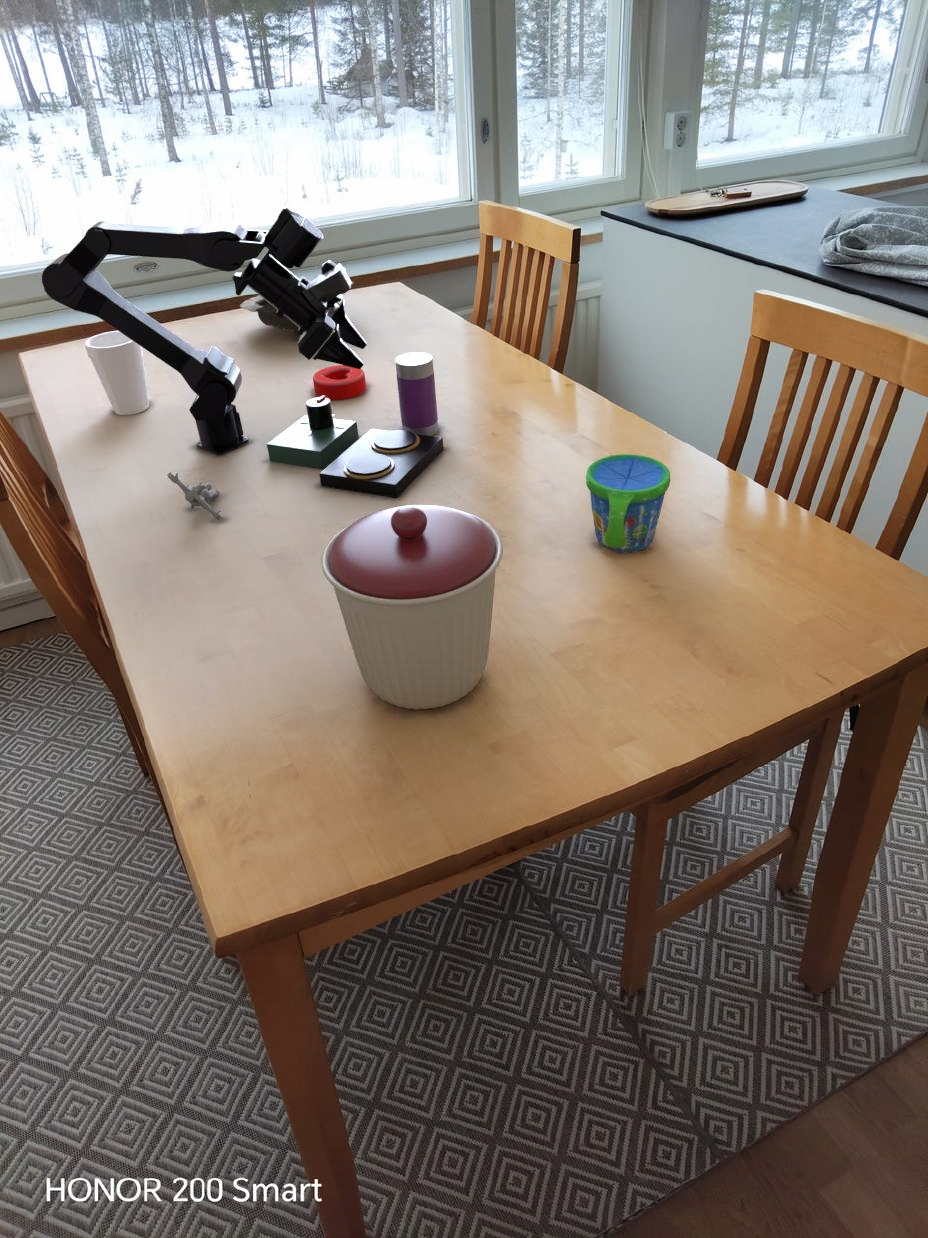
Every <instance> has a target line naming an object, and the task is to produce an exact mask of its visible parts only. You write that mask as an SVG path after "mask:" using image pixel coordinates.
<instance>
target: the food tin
mask: <svg viewBox="0 0 928 1238" xmlns="http://www.w3.org/2000/svg"><path fill="white" fill-rule="evenodd" d="M395 369H396V383H397V391H398V392H397V393H398V403H399V411H400V420H401V421H400V422H401V430H406V431H410V432H412V433H414V434H419V435H427V436H435V435H436V434H438V432H439V421H438V420H439V419H438V418H439V417H438V416H439V415H438V406H437V405H438V404H437V392H436V381H435V370H434V359H433V355H431V354H430V353H427V352H421V351H419V352H418V351H415V352H407V353H403V354H401V355H398V356H397V357H396V358H395Z"/></svg>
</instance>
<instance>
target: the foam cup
mask: <svg viewBox="0 0 928 1238" xmlns="http://www.w3.org/2000/svg"><path fill="white" fill-rule="evenodd" d="M83 344H84V347H85V350H86V352H87V353H86V354H87V357H88V358H89V359H90V361H91V363H92V365H93V367H94V369H95V372H96V374H97V377H98V378H99V380H100V383H101V385H102V388H103V390H104V392H105V394H106V396H107V398H108V400H109V403H110V405H111V408H112V409H113V412H114V413H115V414H116V415H121V416H130V415H135V414H140V413H141V412H144V411H146V410H147V409H149V407H150V399H149V391H148V384H147V383H148V382H147V376H146V368H145V361H144V354H143V353H144V352H143V349H144V348H143V347H141V346H140V345H138V344H137V343H135V342H134V341H133V340H131V339H130V338H128V337H127V336H125V335H124V334H122V333H121V332H119V331H118V330H112V331H106V332H102V333H99V334H96V335H95V334H94V335H93V336H91V337H89V338H87V339H86V340H85V342H84V343H83Z"/></svg>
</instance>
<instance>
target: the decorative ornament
mask: <svg viewBox="0 0 928 1238" xmlns="http://www.w3.org/2000/svg"><path fill="white" fill-rule="evenodd" d="M366 381H367V380H366V374H365V370H364V369H363V368H361V369H356V368H352V367H348V366H345V365H341V364H337V365H332V366H331V365H330V366H328V367H324V368H321V369H320V370H317V371H316V372H314V374H313V376H312V383H313V388H314V394H315V396H317V397H321V396H325V398H328V399H330V401H339V400H346V399H347V400H348V399H351V398H352V399H353V398H355V397H357V396H360V395H362V394H363V393H365V391H366V390H367V382H366Z"/></svg>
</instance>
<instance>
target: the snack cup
mask: <svg viewBox="0 0 928 1238" xmlns="http://www.w3.org/2000/svg"><path fill="white" fill-rule="evenodd" d="M670 483H671V471H670V470H669V468H668V466H667V465H666V464H664V463H663V462H662V461H660V460H658V459H656V458H653V457H650V456H647V455H641V454H632V453H622V454H621V453H619V454H612V455H608V456H605V457H601V458H599V459H597V460H595V461H594V462H592V463H591V464H590V465H589V466H588V468H587V469H586V474H585V485H586V487H587V489H588V490H589V493H590V495H589V496H590V504H591V513H592V518H593V526H594V535H595V537H596V540H597V544H598V546H603V547H604V548H606V549H607V550H610V551H612V552H616V553H618V554H623V553H636V552H639V551H642V550H646V549H648V548H649V547H650V545H651V544H652V542H653V540H654V538H655V534H656V531H657V526H658V523H659V519H660V515H661V512H662V508H663V504H664V500H665V494H666V492H667V491H668V489H669V488H670Z"/></svg>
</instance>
